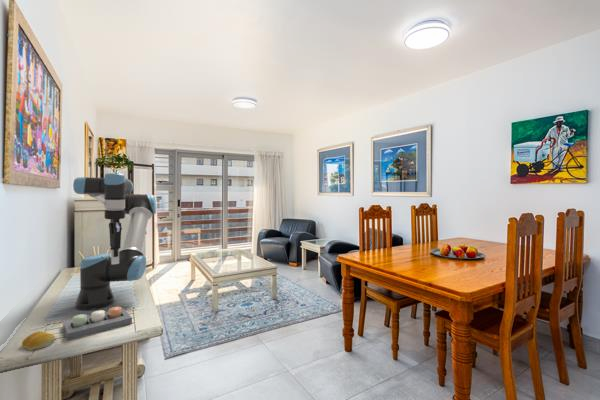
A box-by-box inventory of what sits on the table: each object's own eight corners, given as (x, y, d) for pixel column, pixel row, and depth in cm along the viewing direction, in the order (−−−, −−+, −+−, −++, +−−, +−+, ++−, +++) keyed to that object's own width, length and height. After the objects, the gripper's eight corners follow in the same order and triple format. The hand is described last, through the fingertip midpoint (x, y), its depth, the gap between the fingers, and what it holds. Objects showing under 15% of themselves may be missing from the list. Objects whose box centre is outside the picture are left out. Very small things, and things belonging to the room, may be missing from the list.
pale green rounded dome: (72, 326, 117) (71, 316, 117) (85, 323, 120) (85, 313, 120) (73, 330, 114) (73, 319, 113) (87, 326, 117) (87, 316, 116)
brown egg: (107, 317, 125) (107, 308, 125) (119, 315, 128) (119, 305, 128) (110, 321, 122) (110, 311, 122) (122, 318, 125) (122, 308, 125)
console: (63, 327, 119) (63, 321, 119) (122, 312, 133) (122, 307, 133) (67, 340, 109) (67, 333, 108) (131, 323, 123) (131, 317, 123)
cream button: (90, 321, 121) (90, 312, 121) (103, 318, 124) (103, 309, 124) (92, 325, 118) (92, 315, 118) (105, 322, 121) (105, 312, 121)
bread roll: (33, 353, 100) (33, 341, 100) (18, 347, 104) (17, 336, 103) (60, 341, 108) (60, 330, 108) (45, 336, 111) (45, 326, 111)
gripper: (101, 208, 130) (102, 261, 132) (107, 211, 121) (107, 268, 122) (121, 208, 135) (121, 259, 137) (128, 210, 126) (128, 265, 127)
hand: (115, 263), depth 129 cm, fingers closed
